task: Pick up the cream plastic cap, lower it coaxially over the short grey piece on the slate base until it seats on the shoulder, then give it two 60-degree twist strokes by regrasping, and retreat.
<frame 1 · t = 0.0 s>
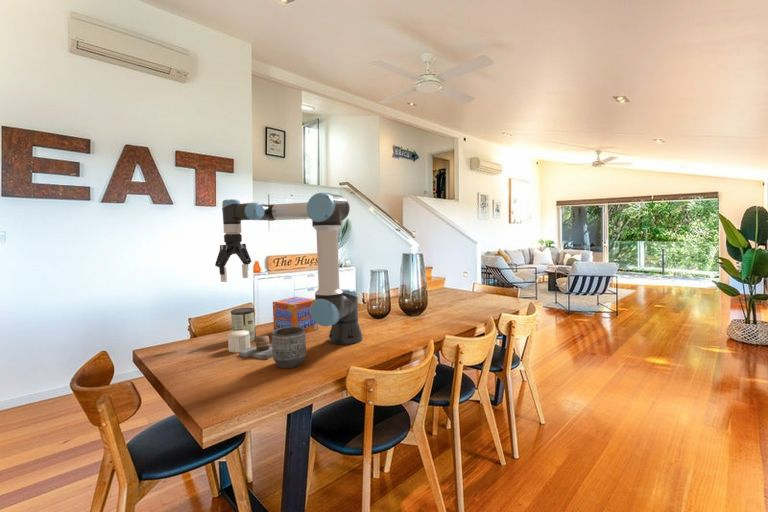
hand: (235, 279, 171), 28 cm above the table, fingers open, 13 cm apart
cap: (239, 349, 158), on the table
grey piece: (263, 352, 152), on the table
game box: (296, 331, 185), on the table
planter: (290, 364, 138), on the table
coffee can: (244, 340, 172), on the table
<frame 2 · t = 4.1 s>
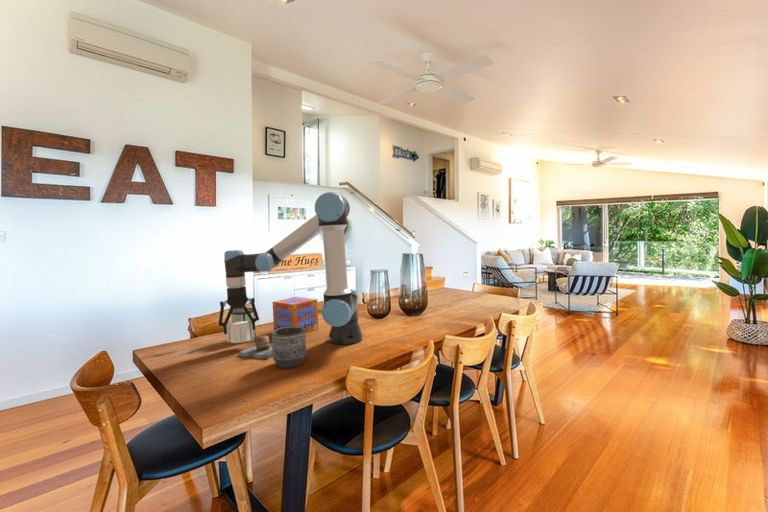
hand: (240, 339, 158), 4 cm above the table, fingers closed on cap, 9 cm apart
cap: (240, 340, 158), point 4 cm above the table, touching gripper
everything else where it was.
when the fingers open (2 cm above the table, at t = 8.5 s): cap stays where it is, resting on grey piece.
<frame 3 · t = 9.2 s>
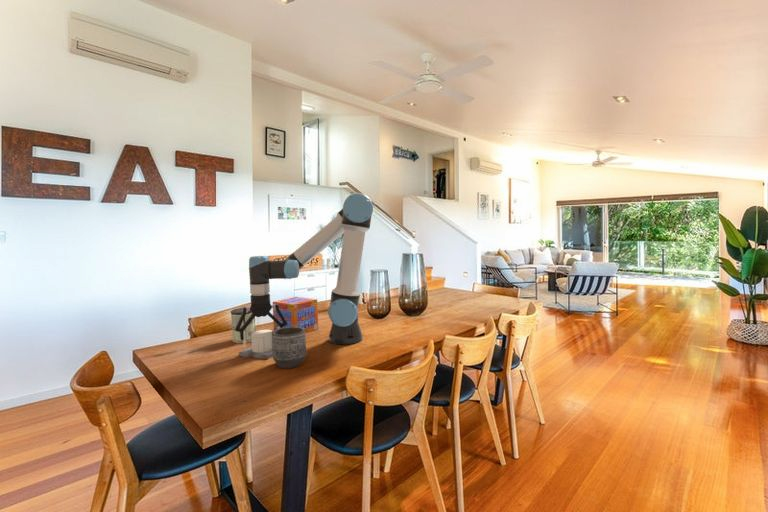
hand: (262, 345, 152), 3 cm above the table, fingers open, 13 cm apart
cap: (262, 349, 152), point 1 cm above the table, touching grey piece
everything else where it was.
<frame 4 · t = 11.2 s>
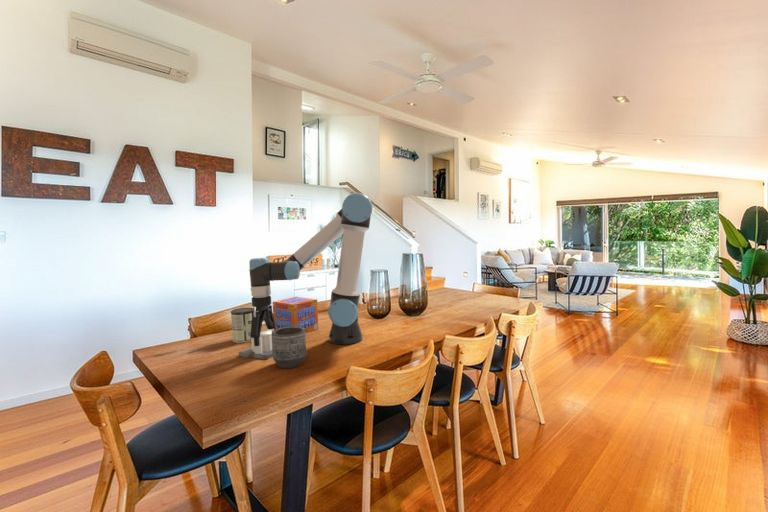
hand: (264, 348, 152), 2 cm above the table, fingers closed on grey piece, 11 cm apart
nothing on the table moved.
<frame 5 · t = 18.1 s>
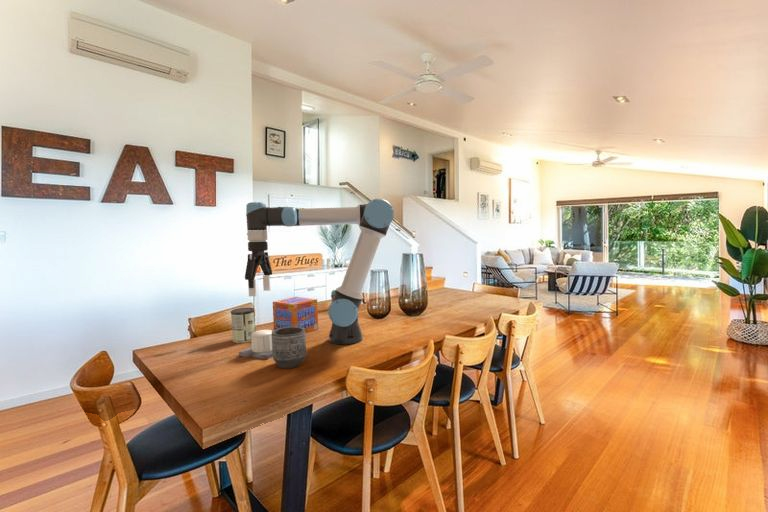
hand: (260, 293, 151), 25 cm above the table, fingers open, 13 cm apart
nothing on the table moved.
at the end: cap 0.1 cm off-centre on the grey piece, point 1.5 cm above the grey piece's base; cap tilted 0°; the gripper is holding nothing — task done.
